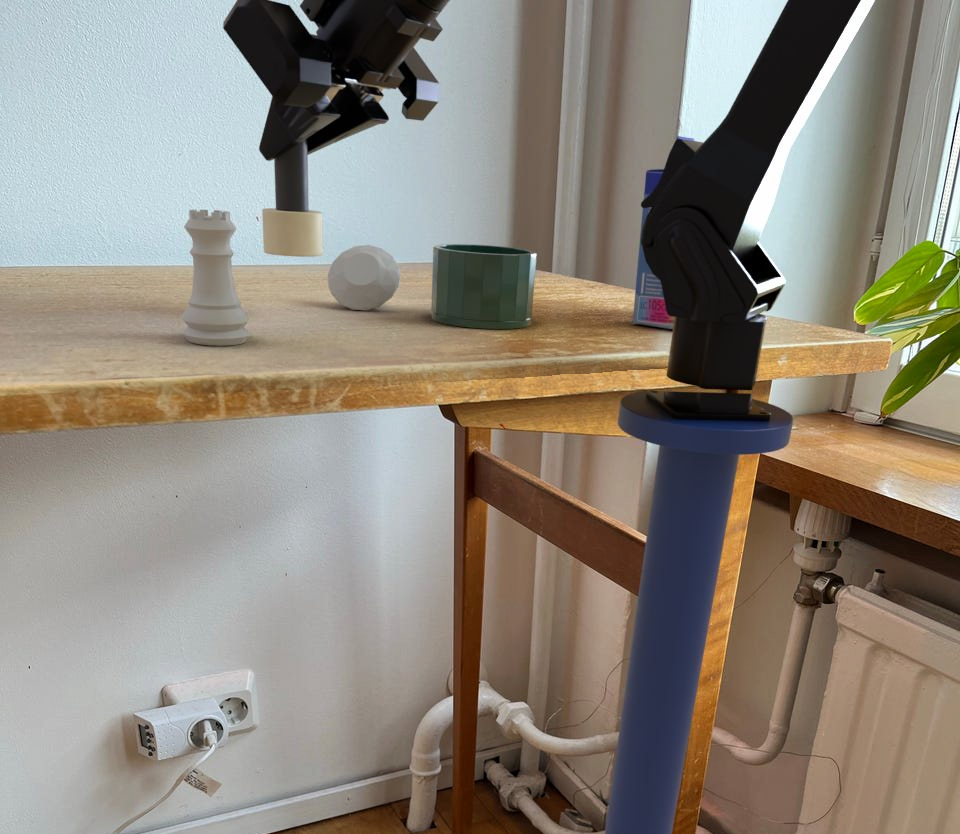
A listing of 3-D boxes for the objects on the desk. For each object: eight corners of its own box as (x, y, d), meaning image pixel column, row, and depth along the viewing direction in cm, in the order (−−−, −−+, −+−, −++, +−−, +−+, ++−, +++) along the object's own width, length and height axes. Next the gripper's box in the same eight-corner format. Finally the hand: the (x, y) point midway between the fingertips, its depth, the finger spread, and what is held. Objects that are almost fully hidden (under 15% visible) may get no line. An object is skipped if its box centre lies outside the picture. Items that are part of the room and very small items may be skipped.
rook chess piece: (264, 340, 67) (259, 213, 63) (222, 349, 63) (215, 214, 60) (211, 332, 68) (204, 207, 65) (168, 340, 65) (157, 209, 61)
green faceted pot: (540, 330, 78) (546, 256, 75) (436, 327, 76) (439, 251, 74) (521, 314, 85) (526, 246, 82) (426, 311, 83) (428, 242, 81)
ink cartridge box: (670, 313, 91) (694, 139, 85) (727, 321, 89) (756, 142, 82) (625, 324, 83) (648, 133, 77) (686, 332, 81) (715, 136, 74)
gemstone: (403, 268, 87) (395, 232, 82) (407, 330, 85) (400, 298, 80) (334, 275, 87) (323, 240, 82) (337, 337, 86) (326, 305, 81)
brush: (322, 257, 73) (320, 55, 67) (262, 255, 72) (254, 50, 66) (322, 252, 77) (319, 60, 71) (265, 249, 76) (257, 55, 70)
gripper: (407, -97, 70) (286, 77, 79) (239, -176, 55) (113, 50, 64) (499, 33, 71) (368, 190, 80) (358, -10, 55) (216, 190, 64)
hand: (275, 156), depth 72 cm, fingers closed on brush, 2 cm apart
